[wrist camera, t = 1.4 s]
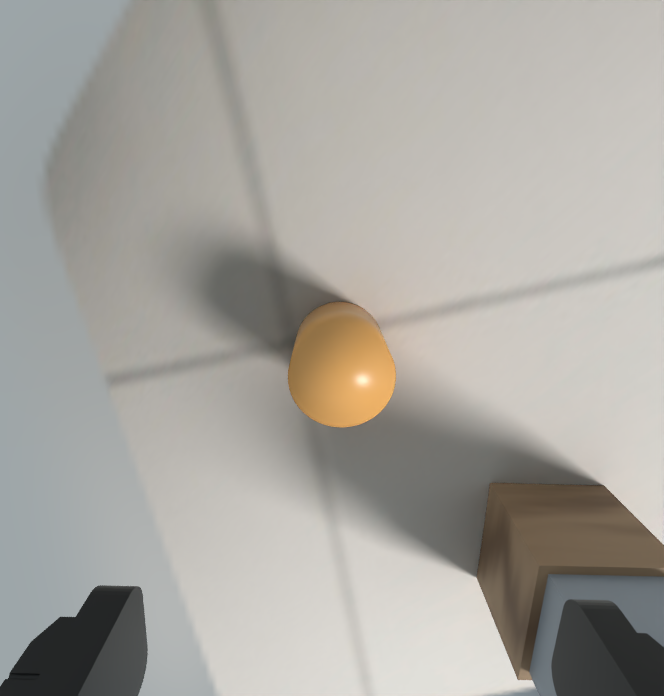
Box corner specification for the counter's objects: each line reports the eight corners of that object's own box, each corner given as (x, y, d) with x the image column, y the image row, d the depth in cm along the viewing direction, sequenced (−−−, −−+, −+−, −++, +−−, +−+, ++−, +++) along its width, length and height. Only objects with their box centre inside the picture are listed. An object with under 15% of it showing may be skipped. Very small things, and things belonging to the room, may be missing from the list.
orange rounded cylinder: (296, 300, 26) (288, 323, 20) (384, 303, 26) (399, 327, 20) (295, 383, 27) (287, 426, 22) (379, 385, 27) (392, 428, 22)
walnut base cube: (489, 482, 29) (539, 565, 22) (603, 485, 29) (687, 568, 22) (476, 577, 31) (517, 679, 24) (583, 579, 31) (654, 682, 24)
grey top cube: (548, 573, 22) (625, 701, 16) (673, 576, 22) (794, 704, 17) (529, 671, 24) (592, 818, 18) (646, 674, 24) (746, 820, 18)
